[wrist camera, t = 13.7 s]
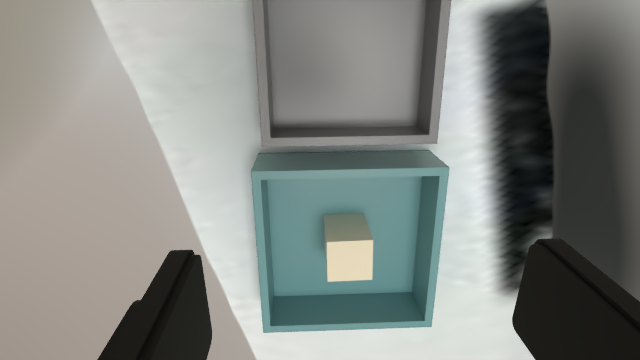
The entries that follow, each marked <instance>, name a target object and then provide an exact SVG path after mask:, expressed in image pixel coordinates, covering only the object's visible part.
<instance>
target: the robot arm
mask: <svg viewBox="0 0 640 360" xmlns="http://www.w3.org/2000/svg"><path fill="white" fill-rule="evenodd" d="M512 322H513V327H514V329H515V331H516V333H517V334H518V336H519V337H520V338H521V340H522V341H523V343H524V344H525V345H526V347H527V348H528V350H529V351H530V353H531V354H532V355H533V357H534V358H535V360H640V302H639V301H638V300H637V299H635V298H634V297H633V296H632V295H630V294H629V293H628V292H627V291H625V290H624V289H623V288H622V287H620V286H619V285H618V284H617V283H616V282H614V281H613V280H612V279H610V278H609V277H608V276H607V275H606V274H604V273H603V272H602V271H601V270H599V269H598V268H597V267H596V266H594V265H593V264H592V263H591V262H589V261H588V260H587V259H586V258H585V257H583V256H582V255H581V254H579V253H578V252H577V251H576V250H575V249H573V248H572V247H571V246H570V245H568V244H567V243H566V242H565V241H563V240H562V239H539V240H537V241H536V242H535V243H534V244H533V245H531V246H530V248H529V251H528V255H527V259H526V263H525V267H524V272H523V276H522V280H521V284H520V288H519V293H518V297H517V301H516V305H515V309H514V313H513V318H512ZM211 340H212V328H211V321H210V314H209V308H208V301H207V295H206V287H205V280H204V274H203V267H202V260H201V256H200V255H194V252H193V250H174V251H173V250H172V251H170V252H169V254H168V255H167V257H166V258H165V260H164V262H163V264H162V265H161V267H160V269H159V270H158V272H157V274H156V276H155V277H154V279H153V281H152V282H151V284H150V286H149V287H148V290H147V291H146V293H145V294H144V296H143V298H142V299H141V300H137V301H135V302H133V303H132V305H131V306H130V308H129V309H128V311H127V312H126V314H125V316H124V317H123V319H122V320H121V322H120V324H119V325H118V327H117V329H116V330H115V332H114V334H113V335H112V337H111V339H110V340H109V342H108V343H107V345H106V347H105V348H104V350H103V352H102V353H101V355H100V356H99V358H98V360H206V359H207V356H208V352H209V348H210V345H211Z"/></svg>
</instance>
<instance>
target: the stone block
mask: <svg viewBox="0 0 640 360" xmlns="http://www.w3.org/2000/svg"><path fill="white" fill-rule="evenodd" d="M324 247H325V260H326V271H327V281H328V282H334V281H356V280H372V272H373V238H372V235H371V232H370V229H369V226H368V224H367V221H366V218H365V215H364V213H356V214H331V215H324Z"/></svg>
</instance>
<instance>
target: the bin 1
mask: <svg viewBox="0 0 640 360" xmlns="http://www.w3.org/2000/svg"><path fill="white" fill-rule="evenodd" d="M450 7H451V0H253V16H254V31H255V46H256V62H257V77H258V93H259V108H260V124H261V139H262V147H283V146H335V145H387V144H437V139H438V129H439V119H440V108H441V98H442V88H443V78H444V68H445V58H446V48H447V38H448V27H449V17H450Z"/></svg>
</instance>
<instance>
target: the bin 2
mask: <svg viewBox="0 0 640 360" xmlns="http://www.w3.org/2000/svg"><path fill="white" fill-rule="evenodd" d="M448 176H449V167H448V166H447V165H446V164H445V163H444V162H442V161H441V160H440V159H439V158H438V157H437V156H435V155H434V154H433V153H432V152H431V151H429V150H408V151H357V152H307V153H259V154H258V156H257V159H256V161H255V163H254V166H253V168H252V170H251V178H252V191H253V204H254V217H255V230H256V243H257V257H258V270H259V283H260V296H261V309H262V322H263V333H269V332H297V331H326V330H355V329H383V328H412V327H431V326H432V318H433V309H434V300H435V291H436V282H437V273H438V264H439V255H440V247H441V238H442V229H443V220H444V211H445V202H446V193H447V184H448ZM356 213H364V215H365V218H366V221H367V224H368V226H369V229H370V232H371V235H372V238H373V272H372V280H356V281H334V282H328V281H327V271H326V260H325V247H324V215H331V214H356Z"/></svg>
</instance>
